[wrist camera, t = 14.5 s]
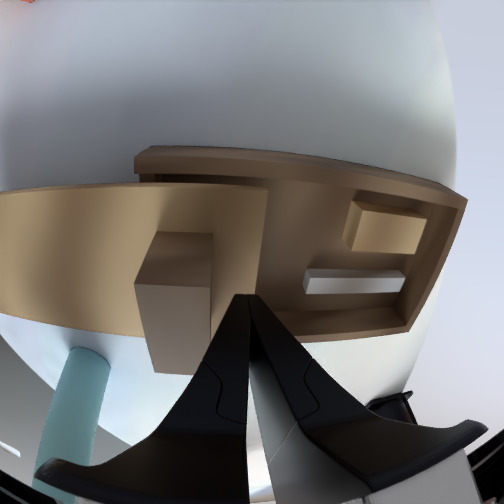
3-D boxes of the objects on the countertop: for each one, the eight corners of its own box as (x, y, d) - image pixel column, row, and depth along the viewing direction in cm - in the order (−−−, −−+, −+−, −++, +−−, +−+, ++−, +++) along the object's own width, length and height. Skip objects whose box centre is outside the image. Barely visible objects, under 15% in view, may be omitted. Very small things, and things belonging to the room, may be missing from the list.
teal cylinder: (95, 346, 16) (56, 514, 5) (118, 374, 18) (95, 524, 7) (62, 347, 16) (19, 493, 5) (85, 374, 18) (57, 509, 7)
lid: (265, 187, 9) (287, 233, 6) (246, 334, 13) (254, 396, 10) (-35, 196, 7) (-77, 228, 4) (2, 307, 11) (-23, 346, 8)
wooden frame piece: (440, 183, 12) (468, 199, 10) (393, 307, 17) (408, 331, 15) (151, 145, 10) (134, 156, 8) (162, 309, 15) (155, 341, 13)
